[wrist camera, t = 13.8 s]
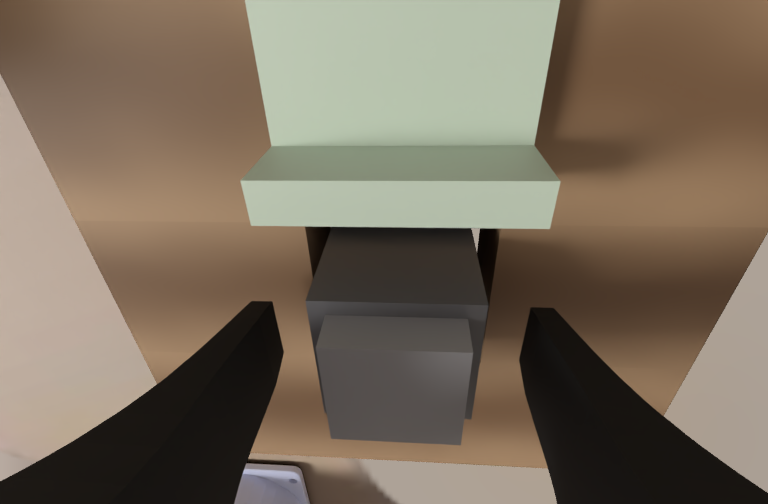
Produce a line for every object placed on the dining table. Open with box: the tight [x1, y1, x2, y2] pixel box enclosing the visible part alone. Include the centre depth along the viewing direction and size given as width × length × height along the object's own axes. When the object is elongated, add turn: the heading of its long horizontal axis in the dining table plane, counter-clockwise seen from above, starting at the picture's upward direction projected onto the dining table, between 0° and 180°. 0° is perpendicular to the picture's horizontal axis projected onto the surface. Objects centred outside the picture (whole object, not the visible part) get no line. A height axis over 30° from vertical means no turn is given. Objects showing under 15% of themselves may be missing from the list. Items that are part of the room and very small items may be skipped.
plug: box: [306, 227, 488, 445], centre depth 12 cm, size 4×4×7 cm
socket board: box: [0, 0, 768, 468], centre depth 14 cm, size 18×19×3 cm
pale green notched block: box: [240, 0, 561, 229], centre depth 8 cm, size 6×6×3 cm
